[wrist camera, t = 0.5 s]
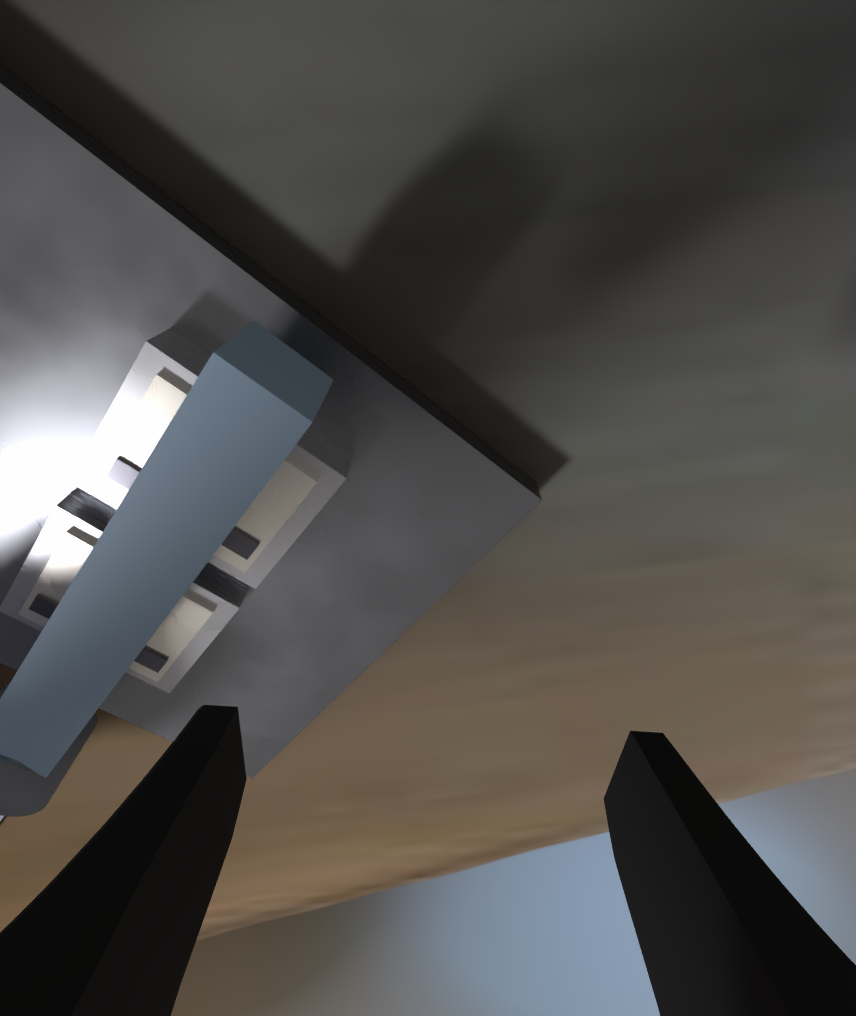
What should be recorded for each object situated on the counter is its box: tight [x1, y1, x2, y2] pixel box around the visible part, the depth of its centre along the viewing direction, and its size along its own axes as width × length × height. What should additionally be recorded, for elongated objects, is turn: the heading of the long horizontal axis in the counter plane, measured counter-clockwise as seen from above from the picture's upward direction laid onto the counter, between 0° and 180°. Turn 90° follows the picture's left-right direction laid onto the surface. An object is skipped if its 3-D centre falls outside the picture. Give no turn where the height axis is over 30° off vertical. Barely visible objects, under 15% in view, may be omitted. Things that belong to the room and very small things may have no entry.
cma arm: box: [0, 321, 333, 816], centre depth 15 cm, size 17×3×3 cm, turn 141°
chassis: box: [0, 65, 542, 778], centre depth 18 cm, size 18×19×3 cm
